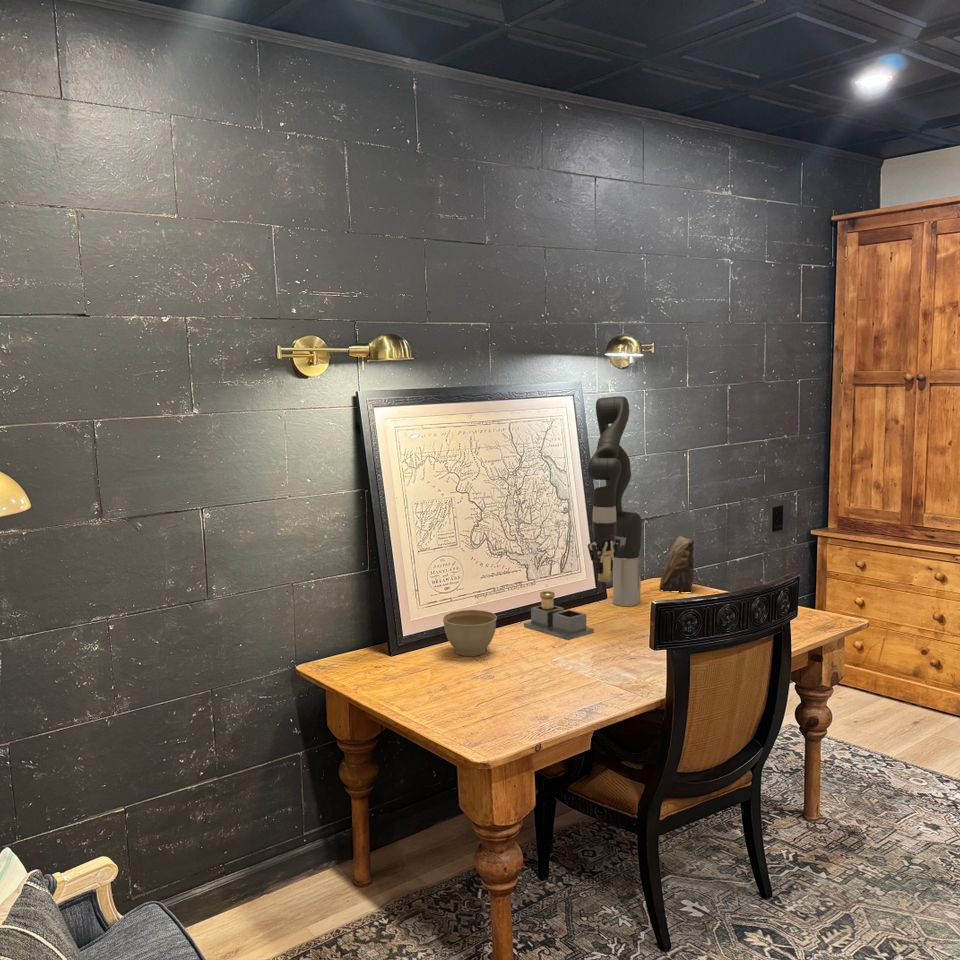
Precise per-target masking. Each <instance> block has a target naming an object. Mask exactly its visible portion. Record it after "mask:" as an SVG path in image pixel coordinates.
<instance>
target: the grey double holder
mask: <svg viewBox="0 0 960 960" xmlns="http://www.w3.org/2000/svg"><path fill="white" fill-rule="evenodd" d="M539 597H540V598H541V599H540V602H541V604H540V605H536V606H533V607H530V621H526V622H524V623H523V627H524V628H527V629H530V630H533V631H537V632H540V633H544V634H548V635H550V636H553V637H557V638H561V639H564V640H566V641H567V640H568V641H569V640H572V639H576V638H579V637H582V636H586V635H590V634H593V633H594V631H595V629H594V628H593V627H589V626H587V613H583V612H580V611H576V610H572V609H566V610H565V608H564V607H561V606H558V605H554V599H555V597H556V594H555V592H554V591H548V590H547V591H541V592H539Z"/></svg>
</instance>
